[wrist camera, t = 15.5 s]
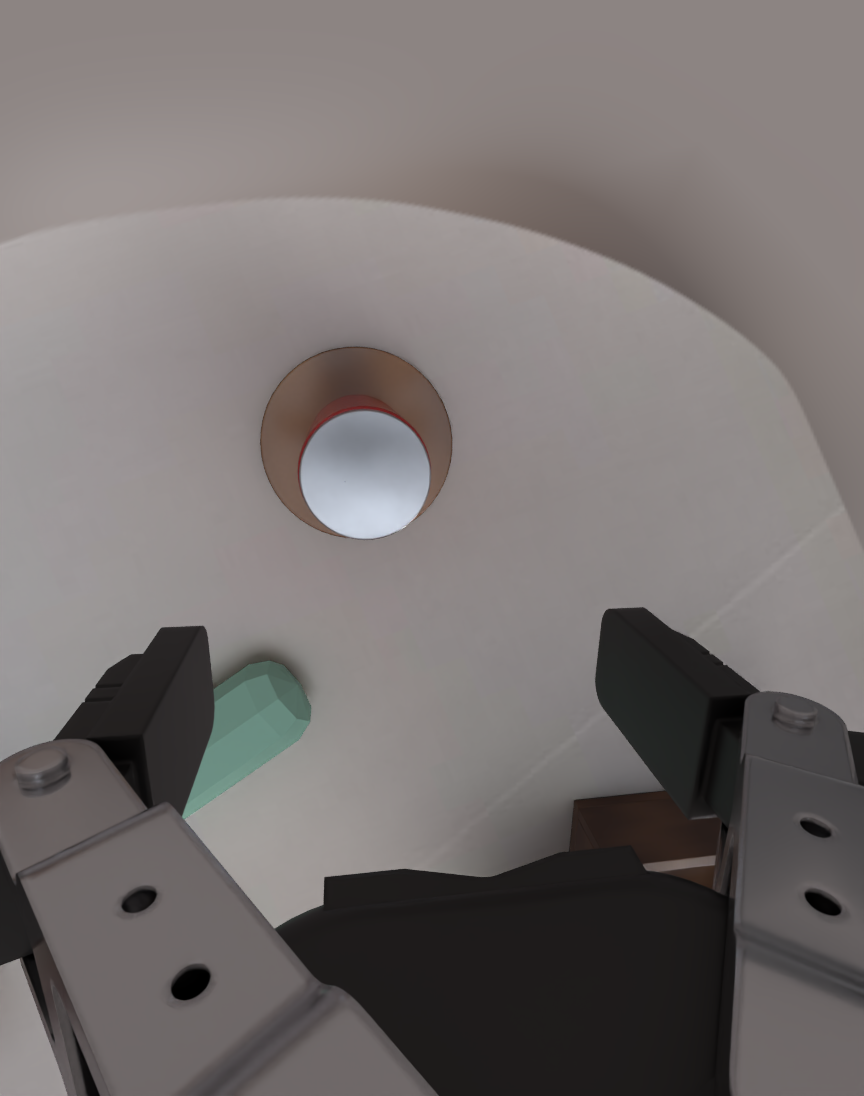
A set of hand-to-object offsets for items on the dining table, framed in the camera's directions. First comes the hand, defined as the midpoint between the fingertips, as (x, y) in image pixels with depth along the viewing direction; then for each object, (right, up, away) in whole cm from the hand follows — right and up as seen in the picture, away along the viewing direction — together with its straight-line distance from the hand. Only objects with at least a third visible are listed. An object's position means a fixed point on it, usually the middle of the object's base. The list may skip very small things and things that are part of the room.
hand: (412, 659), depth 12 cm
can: (-3, +8, +19) cm, 21 cm away
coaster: (-4, +8, +20) cm, 21 cm away
